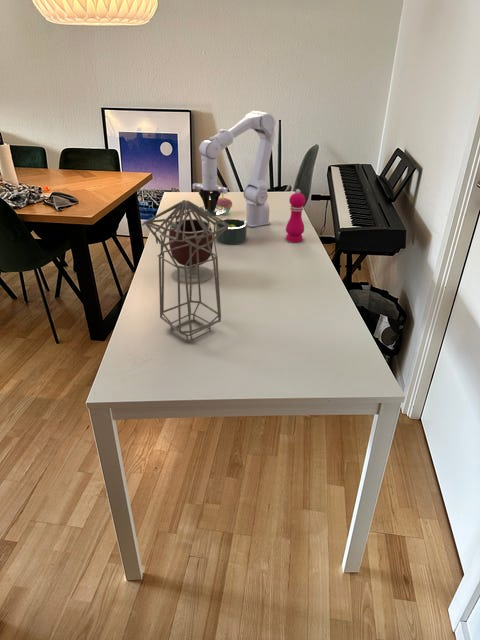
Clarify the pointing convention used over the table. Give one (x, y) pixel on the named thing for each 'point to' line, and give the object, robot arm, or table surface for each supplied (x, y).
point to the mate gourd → (184, 252)
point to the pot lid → (216, 212)
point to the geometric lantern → (193, 208)
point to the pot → (232, 232)
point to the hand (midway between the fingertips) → (210, 209)
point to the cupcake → (224, 204)
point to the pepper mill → (295, 218)
